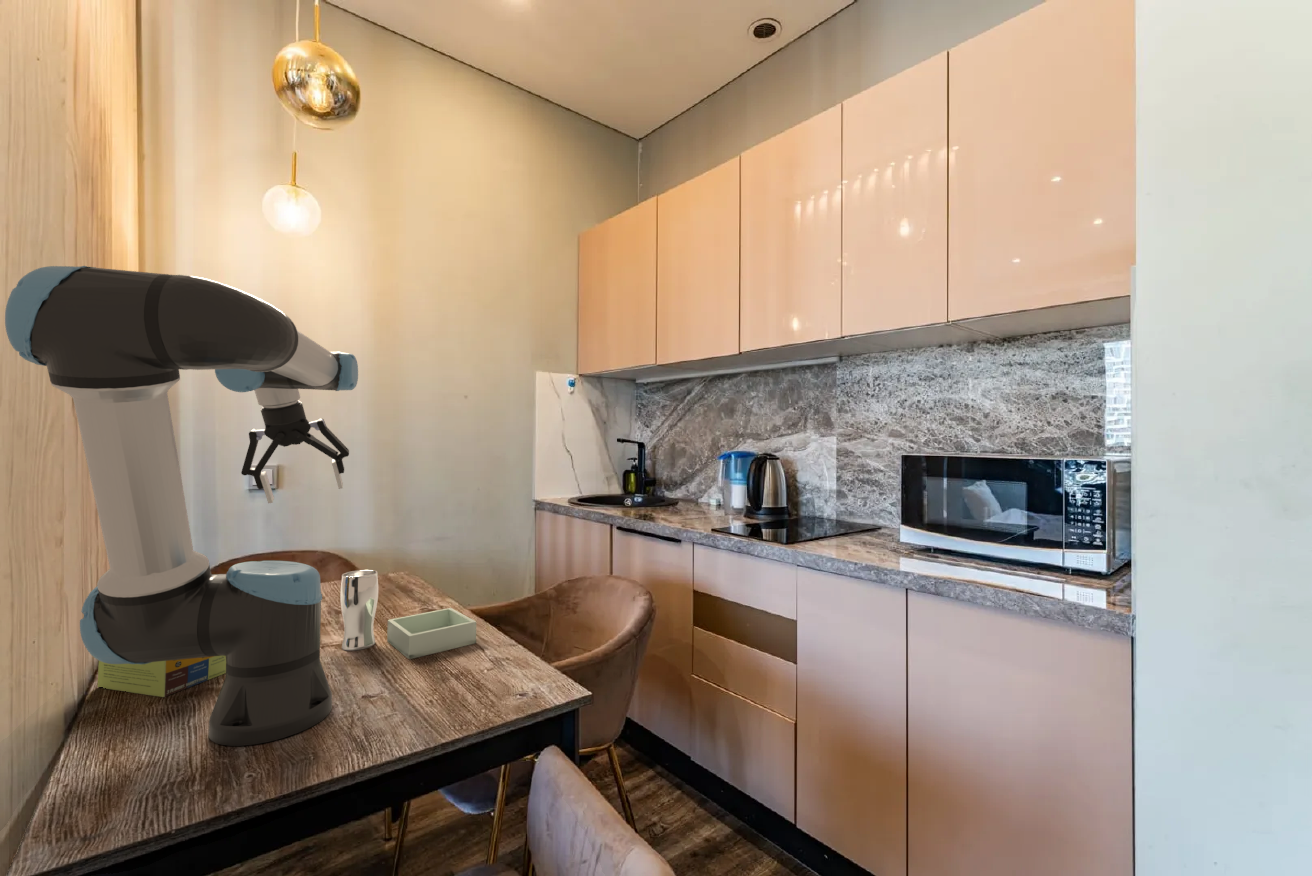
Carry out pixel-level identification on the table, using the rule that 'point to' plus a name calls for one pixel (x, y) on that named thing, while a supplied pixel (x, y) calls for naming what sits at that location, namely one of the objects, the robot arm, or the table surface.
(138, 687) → the protein box
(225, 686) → the robot arm
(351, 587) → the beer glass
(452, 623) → the bin
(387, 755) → the table surface
